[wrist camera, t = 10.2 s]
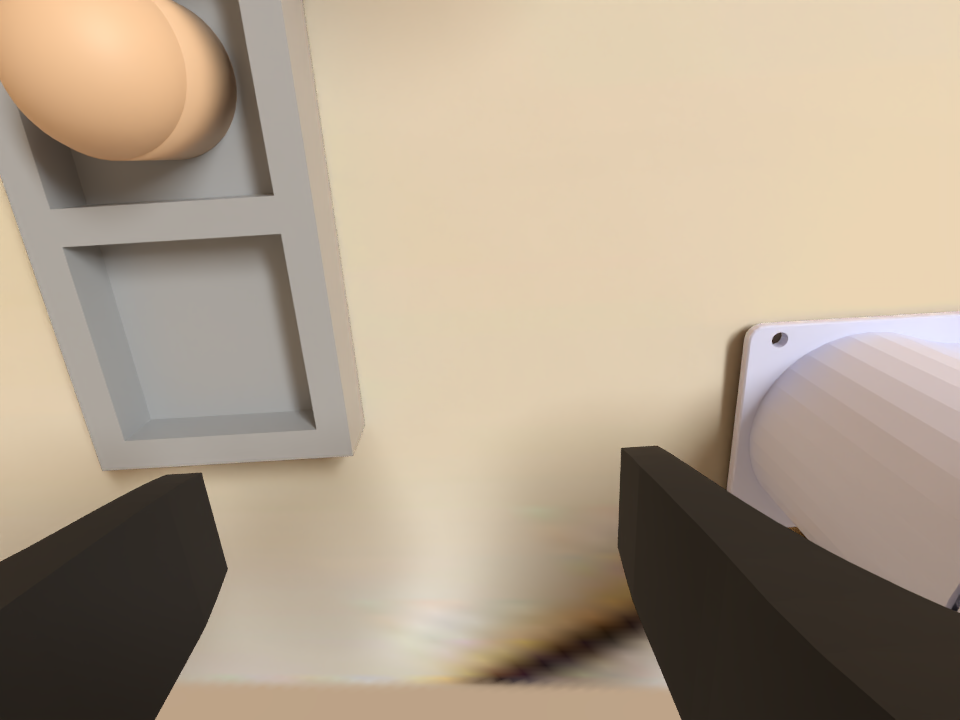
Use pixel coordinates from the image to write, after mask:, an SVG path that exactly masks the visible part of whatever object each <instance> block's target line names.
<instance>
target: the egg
mask: <svg viewBox="0 0 960 720" xmlns="http://www.w3.org/2000/svg"><path fill="white" fill-rule="evenodd" d="M0 81H1V83H2V84H3V86H4V88H5V90H6V91H7V93H8V94H9V96H10V97H11V99H12V100H13V102H14V103H15V104H16V105H17V107H18V108H19V109H20V110H21V111H22V113H23V114H24V115H25V116H26V117H27V118H28V119H29V120H30V121H32V122H33V123H34V124H35V125H36V126H37V127H39V128H40V129H41V130H42V131H43V132H45V133H46V134H48V135H49V136H50V137H52V138H53V139H55V140H57V141H59V142H60V143H62V144H64V145H66V146H68V147H70V148H72V149H74V150H75V151H77V152H80V153H82V154H85V155H87V156H91V157H94V158H98V159H103V160H110V161H140V160H184V159H191V158H194V157H197V156H200V155H202V154H204V153H206V152H208V151H209V150H211V149H212V148H214V147H215V146H216V145H217V144H218V143H219V142H220V141H221V140H222V138H223V137H224V136H225V135H226V133H227V131H228V129H229V128H230V125H231V123H232V120H233V118H234V114H235V110H236V102H237V87H236V79H235V74H234V70H233V67H232V64H231V61H230V59H229V56H228V54H227V52H226V50H225V48H224V46H223V44H222V43H221V41H220V40H219V38H218V37H217V35H216V34H215V33H214V32H213V30H212V29H211V28H210V27H209V26H208V25H207V24H206V23H205V22H204V21H203V20H202V19H201V18H200V17H198V16H197V15H196V14H195V13H193V12H192V11H190V10H189V9H187V8H185V7H184V6H182V5H180V4H178V3H176V2H174V1H172V0H0Z"/></svg>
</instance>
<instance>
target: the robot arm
mask: <svg viewBox="0 0 960 720" xmlns="http://www.w3.org/2000/svg"><path fill="white" fill-rule="evenodd" d="M780 332H781V334H782V336H781V339H780V340H779V341H778V342H777V343H774V344H772V339H773V336H774V335H776V334H777V333H780ZM787 527H798V529H799V530H800V531H801V532H802V533H803V534H804V535H805V537H806V538H807V539H806V538H804V537H803V536H801V535H799V534H797V533H796V532H794V531H792V530H790V529H789V528H787ZM618 549H619V553H620V557H621V561H622V564H623V568H624V572H625V576H626V579H627V583H628V586H629V590H630V593H631V597H632V600H633V603H634V605H635V608H636V610H637V613H638V615H639V618H640V620H641V623H642V625H643V628H644V630H645V633H646V635H647V637H648V640H649V642H650V645H651V647H652V650H653V652H654V654H655V657H656V659H657V662H658V664H659V666H660V669H661V671H662V674H663V676H664V679H665V681H666V683H667V686H668V688H669V691H670V693H671V695H672V698H673V700H674V703H675V705H676V707H677V710H678V712H679V715H680V717H681V719H682V720H960V311H954V312H937V313H920V314H904V315H887V316H871V317H854V318H837V319H821V320H804V321H788V322H771V323H759V324H755V325H754V326H752V327H751V328H749V330H748V331H747V332H746V335H745V338H744V345H743V354H742V362H741V371H740V379H739V388H738V397H737V405H736V414H735V422H734V431H733V439H732V448H731V457H730V465H729V474H728V482H727V490H725V489H724V488H722V487H721V486H719V485H717V484H716V483H714V482H713V481H711V480H710V479H708V478H707V477H705V476H704V475H702V474H701V473H699V472H698V471H696V470H695V469H693V468H692V467H690V466H689V465H687V464H686V463H684V462H683V461H681V460H680V459H678V458H677V457H675V456H674V455H672V454H670V453H669V452H667V451H665V450H664V449H662V448H660V447H658V446H646V447H629V448H621V471H620V499H619V526H618ZM227 570H228V568H227V565H226V561H225V557H224V554H223V550H222V546H221V543H220V539H219V535H218V532H217V528H216V524H215V521H214V517H213V513H212V510H211V506H210V502H209V499H208V495H207V491H206V488H205V484H204V480H203V477H202V473H189V474H172V475H165V476H162V477H160V478H158V479H155V480H153V481H151V482H149V483H146V484H144V485H142V486H140V487H138V488H136V489H134V490H132V491H130V492H128V493H127V494H125V495H123V496H121V497H119V498H117V499H115V500H113V501H111V502H110V503H108V504H106V505H104V506H102V507H100V508H99V509H97V510H95V511H93V512H91V513H90V514H88V515H86V516H84V517H82V518H80V519H79V520H77V521H75V522H73V523H71V524H70V525H68V526H66V527H64V528H62V529H60V530H59V531H57V532H55V533H53V534H51V535H50V536H48V537H46V538H44V539H42V540H40V541H39V542H37V543H35V544H33V545H31V546H29V547H28V548H26V549H24V550H22V551H20V552H18V553H16V554H14V555H12V556H10V557H8V558H7V559H5V560H3V561H1V562H0V720H155V718H156V717H157V715H158V713H159V711H160V709H161V707H162V706H163V704H164V702H165V700H166V698H167V697H168V695H169V693H170V691H171V689H172V688H173V686H174V684H175V682H176V680H177V679H178V677H179V675H180V673H181V671H182V669H183V668H184V666H185V664H186V662H187V660H188V658H189V656H190V655H191V653H192V651H193V649H194V647H195V645H196V643H197V642H198V640H199V638H200V636H201V634H202V632H203V630H204V628H205V626H206V624H207V622H208V619H209V617H210V614H211V612H212V609H213V607H214V605H215V602H216V600H217V597H218V594H219V592H220V589H221V586H222V583H223V581H224V578H225V575H226V572H227Z"/></svg>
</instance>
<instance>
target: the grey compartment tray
mask: <svg viewBox="0 0 960 720" xmlns="http://www.w3.org/2000/svg"><path fill="white" fill-rule="evenodd" d="M172 1H174V2H176V3H178V4H180V5H182V6H184V7H185V8H187V9H189V10H190V11H192V12H193V13H195V14H196V15H197V16H198V17H200V18H201V19H202V20H203V21H204V22H205V23H206V24H207V25H208V26H209V27H210V28H211V29H212V30H213V32H214V33H215V34H216V35H217V37H218V38H219V40H220V41H221V43H222V44H223V46H224V48H225V50H226V52H227V54H228V56H229V59H230V61H231V64H232V67H233V70H234V74H235V79H236V87H237V102H236V110H235V114H234V118H233V120H232V123H231V125H230V128H229V129H228V131H227V133H226V135H225V136H224V137H223V138H222V140H221V141H220V142H219V143H218V144H217V145H216V146H215V147H214V148H212V149H211V150H209V151H208V152H206V153H204V154H202V155H200V156H197V157H194V158H191V159H184V160H140V161H110V160H103V159H98V158H94V157H91V156H87V155H85V154H82V153H80V152H77V151H75V150H74V149H72V148H70V147H68V146H66V145H64V144H62V143H60V142H59V141H57V140H55V139H53V138H52V137H50V136H49V135H48V134H46V133H45V132H43V131H42V130H41V129H40V128H39V127H37V126H36V125H35V124H34V123H33V122H32V121H30V120H29V119H28V118H27V117H26V116H25V115H24V114H23V113H22V111H21V110H20V109H19V108H18V107H17V105H16V104H15V103H14V102H13V100H12V99H11V97H10V96H9V94H8V93H7V91H6V90H5V88H4V86H3V84H2V83H1V81H0V176H1V179H2V181H3V184H4V187H5V190H6V193H7V196H8V199H9V202H10V205H11V208H12V210H13V213H14V216H15V219H16V222H17V225H18V228H19V231H20V234H21V237H22V239H23V242H24V245H25V248H26V251H27V254H28V257H29V260H30V263H31V265H32V268H33V271H34V274H35V277H36V280H37V283H38V286H39V289H40V292H41V294H42V297H43V300H44V303H45V306H46V309H47V312H48V315H49V318H50V321H51V323H52V326H53V329H54V332H55V335H56V338H57V341H58V344H59V347H60V350H61V352H62V355H63V358H64V361H65V364H66V367H67V370H68V373H69V376H70V379H71V381H72V384H73V387H74V390H75V393H76V396H77V399H78V402H79V405H80V407H81V410H82V413H83V416H84V419H85V422H86V425H87V428H88V431H89V434H90V436H91V439H92V442H93V445H94V448H95V451H96V454H97V457H98V460H99V463H100V465H101V468H102V471H108V470H125V469H141V468H158V467H175V466H192V465H209V464H226V463H243V462H260V461H277V460H293V459H310V458H327V457H344V456H353V455H354V452H355V450H356V447H357V445H358V442H359V440H360V437H361V434H362V432H363V429H364V427H365V422H364V415H363V408H362V401H361V395H360V388H359V381H358V374H357V367H356V361H355V354H354V347H353V340H352V333H351V326H350V320H349V313H348V306H347V299H346V292H345V286H344V279H343V272H342V265H341V258H340V251H339V245H338V238H337V231H336V224H335V217H334V211H333V204H332V197H331V190H330V183H329V177H328V170H327V163H326V156H325V149H324V142H323V136H322V129H321V122H320V115H319V108H318V102H317V95H316V88H315V81H314V74H313V67H312V61H311V54H310V47H309V40H308V33H307V27H306V20H305V13H304V6H303V0H172Z"/></svg>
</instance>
